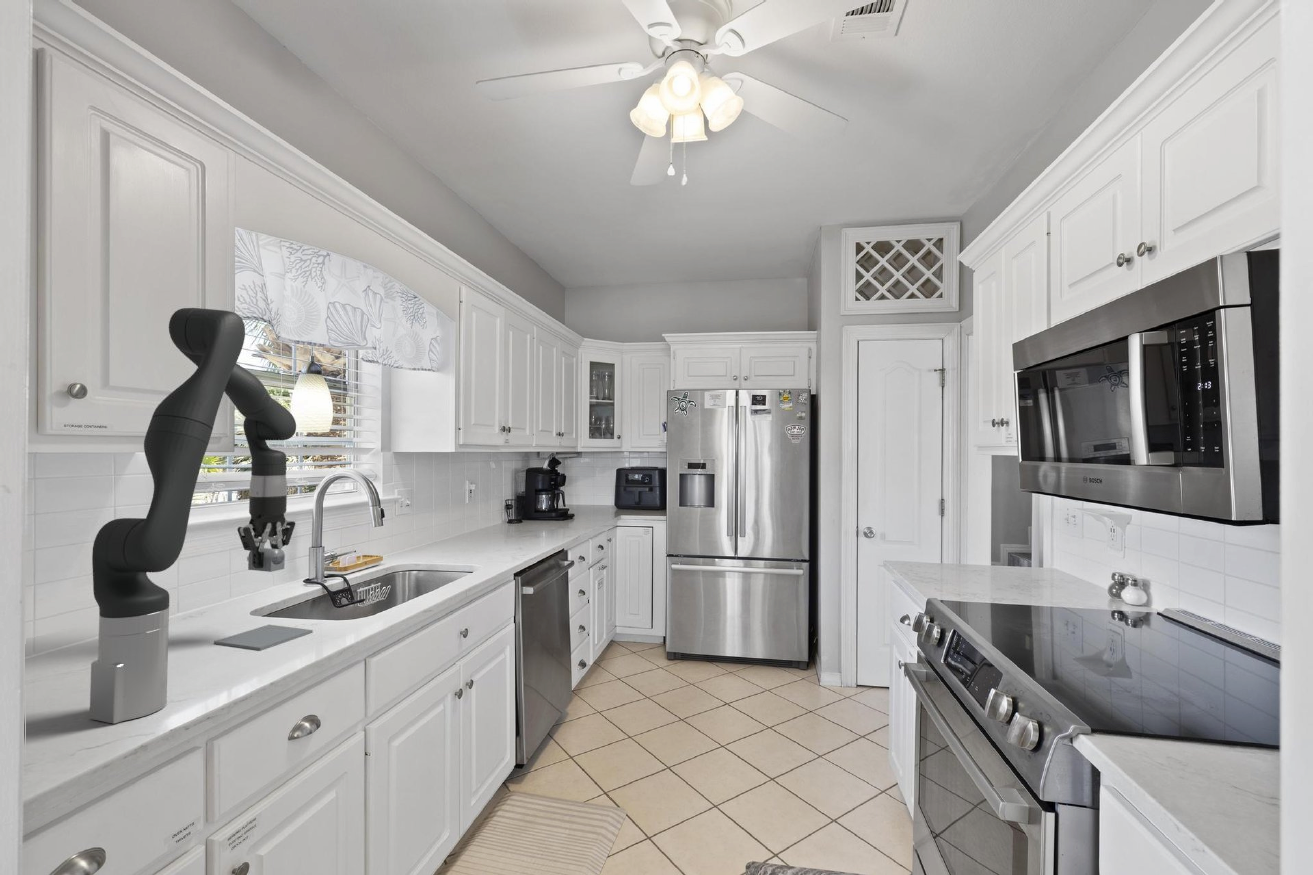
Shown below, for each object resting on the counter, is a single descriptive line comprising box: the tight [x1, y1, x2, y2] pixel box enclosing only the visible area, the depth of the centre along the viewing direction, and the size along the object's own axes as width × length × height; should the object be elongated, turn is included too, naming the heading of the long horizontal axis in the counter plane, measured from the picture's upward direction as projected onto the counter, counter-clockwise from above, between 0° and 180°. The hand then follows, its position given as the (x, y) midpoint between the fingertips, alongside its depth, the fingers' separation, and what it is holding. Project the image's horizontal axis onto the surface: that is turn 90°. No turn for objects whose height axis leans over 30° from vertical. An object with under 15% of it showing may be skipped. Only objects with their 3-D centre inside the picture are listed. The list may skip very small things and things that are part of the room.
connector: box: [246, 547, 285, 573], centre depth 144 cm, size 4×8×5 cm, turn 73°
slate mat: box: [213, 624, 314, 651], centre depth 144 cm, size 14×14×1 cm
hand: (266, 565), depth 144 cm, fingers closed on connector, 3 cm apart
